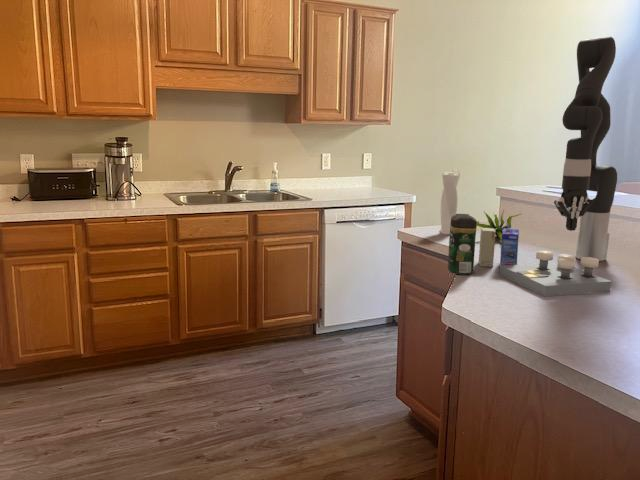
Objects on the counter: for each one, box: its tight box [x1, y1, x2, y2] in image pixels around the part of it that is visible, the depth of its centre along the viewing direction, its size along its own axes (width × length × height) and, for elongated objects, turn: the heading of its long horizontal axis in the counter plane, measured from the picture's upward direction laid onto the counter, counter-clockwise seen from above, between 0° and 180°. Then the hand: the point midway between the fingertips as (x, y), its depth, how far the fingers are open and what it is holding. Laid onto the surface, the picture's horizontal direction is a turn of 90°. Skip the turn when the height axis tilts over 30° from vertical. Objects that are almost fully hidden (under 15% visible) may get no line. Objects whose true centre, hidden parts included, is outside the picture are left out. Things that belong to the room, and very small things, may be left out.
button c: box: [535, 250, 554, 269], centre depth 172 cm, size 5×5×5 cm
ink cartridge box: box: [499, 223, 520, 270], centre depth 185 cm, size 10×6×14 cm, turn 161°
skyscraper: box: [439, 168, 461, 236], centre depth 237 cm, size 8×8×28 cm
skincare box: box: [478, 227, 496, 268], centre depth 187 cm, size 6×4×12 cm
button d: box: [557, 258, 577, 278], centre depth 163 cm, size 5×5×5 cm
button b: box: [579, 257, 600, 276], centre depth 165 cm, size 5×5×5 cm
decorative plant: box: [476, 209, 522, 245], centre depth 220 cm, size 18×30×15 cm, turn 140°
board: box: [499, 262, 612, 297], centre depth 168 cm, size 22×22×3 cm
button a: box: [556, 253, 576, 263], centre depth 174 cm, size 5×5×5 cm
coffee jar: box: [447, 213, 478, 276], centre depth 177 cm, size 10×8×19 cm
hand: (570, 230), depth 172 cm, fingers closed
